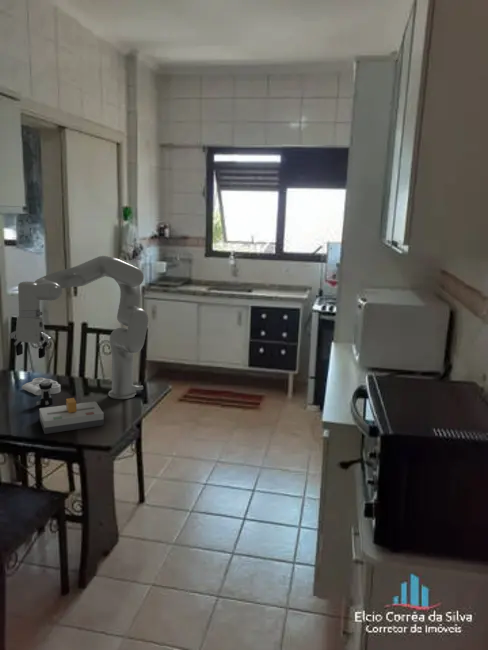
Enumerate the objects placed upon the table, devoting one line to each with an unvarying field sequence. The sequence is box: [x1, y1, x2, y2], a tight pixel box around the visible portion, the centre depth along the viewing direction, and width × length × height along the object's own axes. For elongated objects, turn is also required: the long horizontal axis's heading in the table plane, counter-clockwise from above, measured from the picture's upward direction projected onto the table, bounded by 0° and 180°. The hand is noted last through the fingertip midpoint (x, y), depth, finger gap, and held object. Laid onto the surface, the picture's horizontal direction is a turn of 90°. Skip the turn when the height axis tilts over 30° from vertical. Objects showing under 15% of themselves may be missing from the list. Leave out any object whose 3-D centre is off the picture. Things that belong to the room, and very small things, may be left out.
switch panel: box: [39, 401, 105, 435], centre depth 201 cm, size 22×16×5 cm
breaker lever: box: [65, 397, 77, 413], centre depth 199 cm, size 3×5×6 cm, turn 29°
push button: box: [36, 381, 53, 406], centre depth 216 cm, size 7×5×10 cm
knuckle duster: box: [21, 377, 62, 396], centre depth 235 cm, size 3×18×15 cm
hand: (30, 356), depth 199 cm, fingers open, 9 cm apart
